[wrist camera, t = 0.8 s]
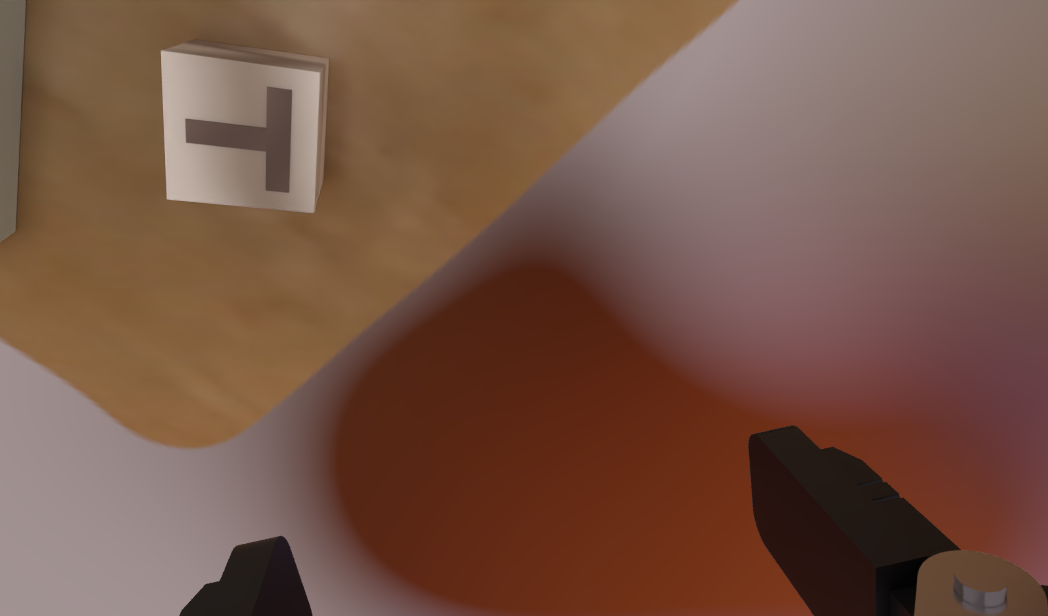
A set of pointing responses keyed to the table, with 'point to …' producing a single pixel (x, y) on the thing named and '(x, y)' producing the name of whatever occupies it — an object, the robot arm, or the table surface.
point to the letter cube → (244, 125)
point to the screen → (10, 108)
